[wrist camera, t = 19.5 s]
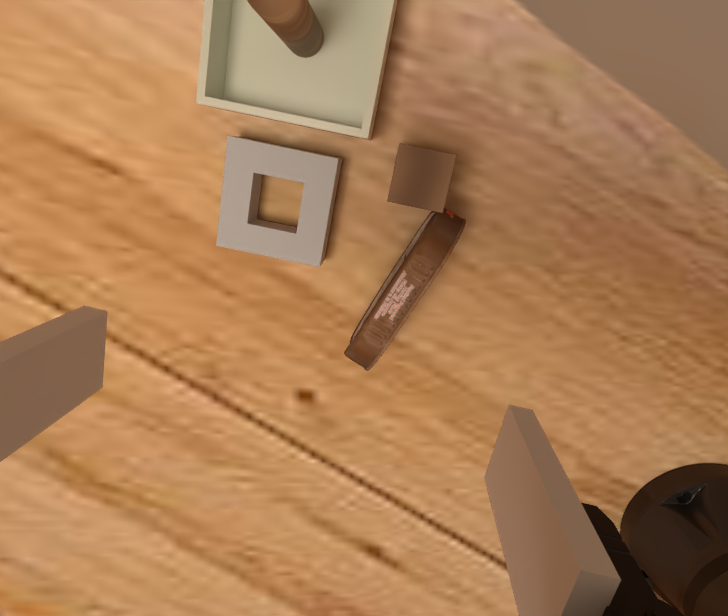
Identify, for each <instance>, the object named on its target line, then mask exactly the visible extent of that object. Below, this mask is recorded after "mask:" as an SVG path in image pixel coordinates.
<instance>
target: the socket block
mask: <svg viewBox="0 0 728 616" xmlns="http://www.w3.org/2000/svg"><path fill="white" fill-rule="evenodd" d="M341 164H342V158H338V157H333V156H329V155H324V154H319V153H314V152H309V151H305V150H300V149H295V148H290V147H286V146H281V145H276V144H271V143H266V142H262V141H257V140H252V139H247V138H242V137H236V136H228V138H227V147H226V157H225V167H224V176H223V186H222V195H221V205H220V214H219V224H218V234H217V243H216V246H221V247H226V248H231V249H235V250H240V251H245V252H250V253H255V254H259V255H264V256H269V257H274V258H278V259H283V260H288V261H293V262H298V263H302V264H307V265H312V266H317V267H320V266H321V264H322V263H323V261H324V260H325V255H326V249H327V243H328V238H329V232H330V226H331V220H332V215H333V209H334V203H335V198H336V192H337V186H338V181H339V175H340V169H341ZM263 175H268V176H273V177H277V178H282V179H287V180H292V181H296V182H301V183H304V187H303V194H302V200H301V207H300V213H299V220H298V226H297V227H293V226H288V225H284V224H279V223H274V222H269V221H265V220H260V219H257V215H258V207H259V199H260V191H261V184H262V176H263Z"/></svg>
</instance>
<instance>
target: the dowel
mask: <svg viewBox="0 0 728 616" xmlns="http://www.w3.org/2000/svg"><path fill="white" fill-rule="evenodd" d="M247 1H248V3H249V4H250V6H251V7H252V8H253V9H254V10H255V11H256V12H257V14H258V15H259V16H260V17H261V18H262V19H263V20H264V21H265V22H266V24H267V25H268V26H269V27H270V28H271V29H272V30H273V31H274V32H275V33H276V35H277V36H278V37H279V38H280V39H281V40H282V41H283V42H284V43H285V44H286V46H287V47H288V48H289V49H290V50H291V51H292V52H293V53H294V54H295V55H297V56H299V57H303V58H308V57H312V56H314V55H315V54H316V53H318V51H319V50H320V49H321V47H322V44H323V41H324V34H323V29H322V27H321V25H320V23H319V21H318V19H317V17H316V15H315V13H314V11H313V9H312V7H311V5H310V3H309V1H308V0H247Z"/></svg>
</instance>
